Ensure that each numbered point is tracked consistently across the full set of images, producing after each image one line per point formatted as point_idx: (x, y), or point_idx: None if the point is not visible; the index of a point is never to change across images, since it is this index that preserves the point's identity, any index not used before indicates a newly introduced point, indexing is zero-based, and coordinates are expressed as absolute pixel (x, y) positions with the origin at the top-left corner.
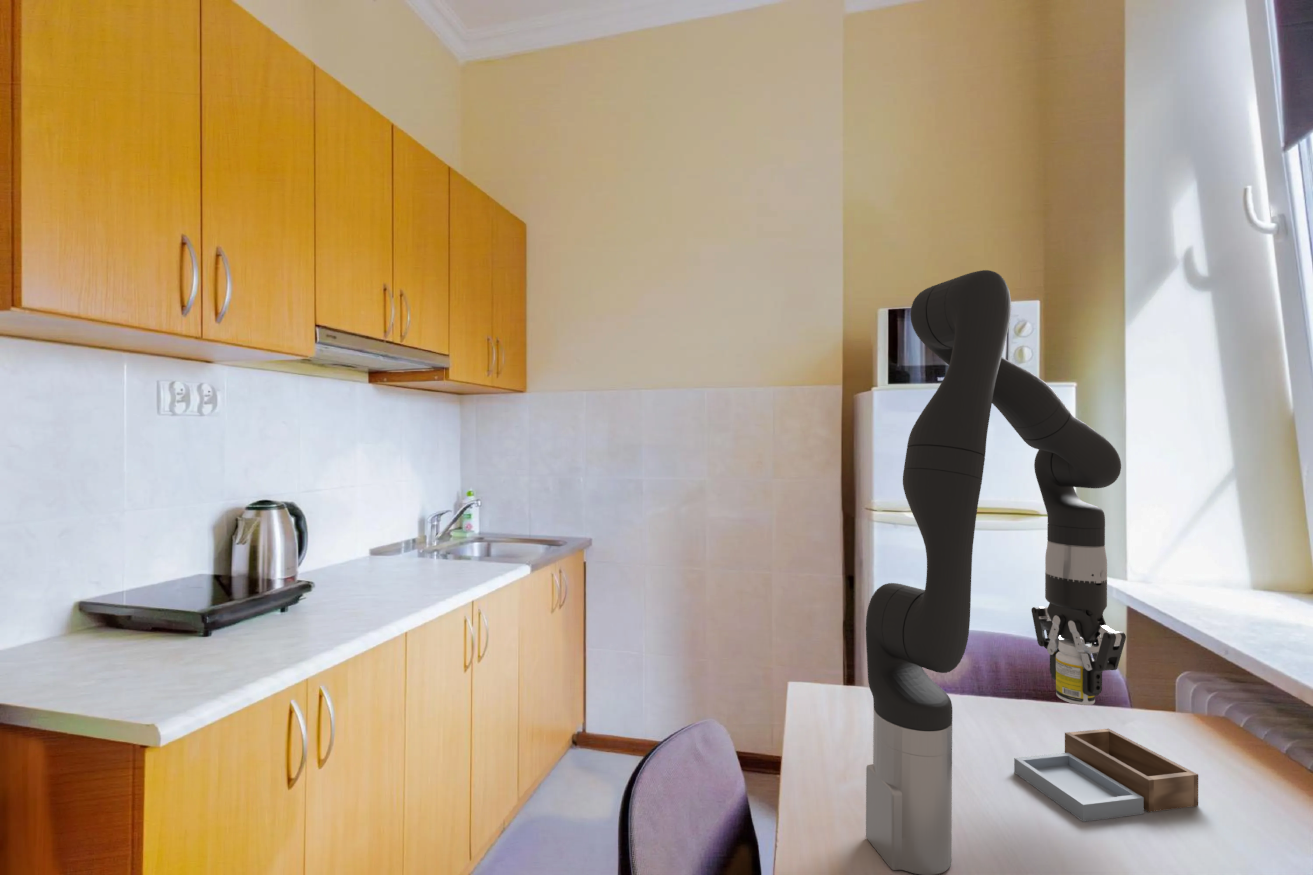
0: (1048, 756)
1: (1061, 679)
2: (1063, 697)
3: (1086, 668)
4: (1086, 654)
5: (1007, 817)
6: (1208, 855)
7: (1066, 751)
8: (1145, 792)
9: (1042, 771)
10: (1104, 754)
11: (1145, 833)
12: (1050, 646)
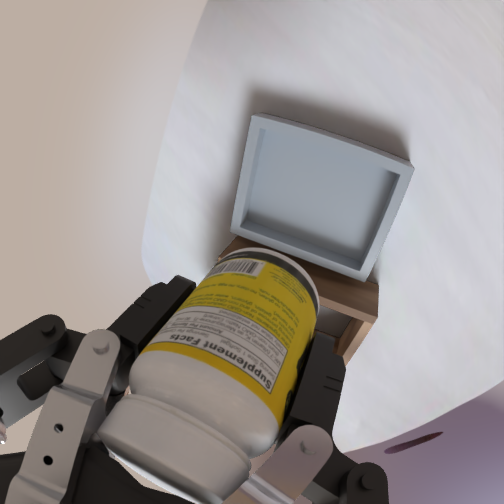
0: (379, 236)
1: (250, 297)
2: (267, 253)
3: (114, 339)
4: (70, 385)
5: (320, 7)
6: (165, 193)
7: (375, 294)
8: (234, 247)
9: (375, 197)
10: None
11: (212, 171)
12: (304, 465)
